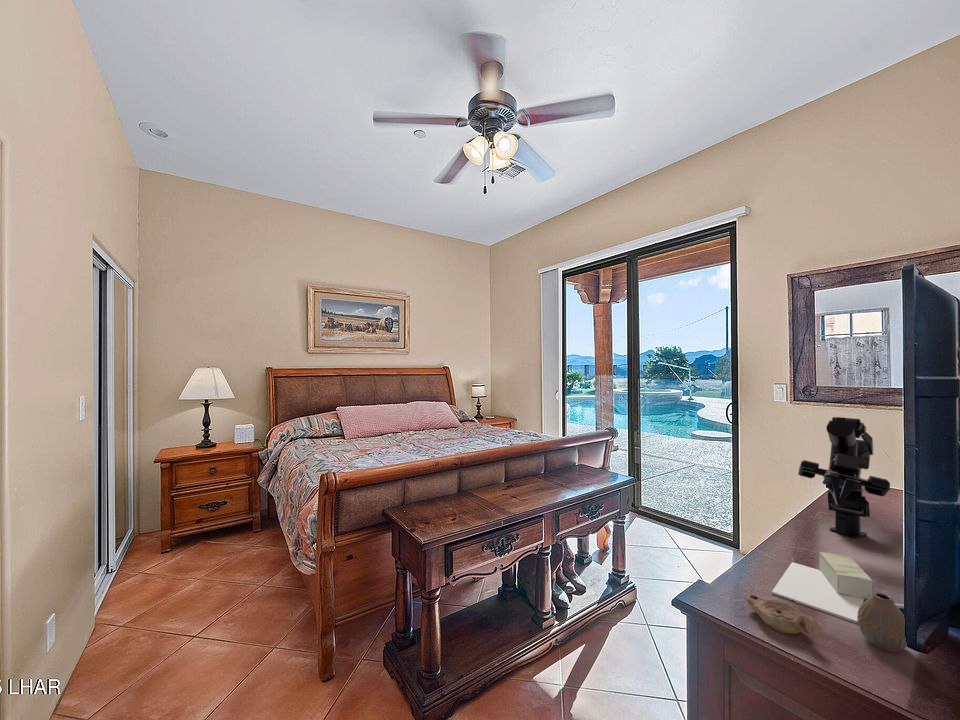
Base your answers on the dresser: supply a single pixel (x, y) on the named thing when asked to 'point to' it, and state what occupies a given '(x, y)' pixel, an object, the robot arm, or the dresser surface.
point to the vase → (882, 623)
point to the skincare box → (846, 575)
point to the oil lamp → (782, 616)
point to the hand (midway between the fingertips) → (838, 505)
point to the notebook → (816, 592)
